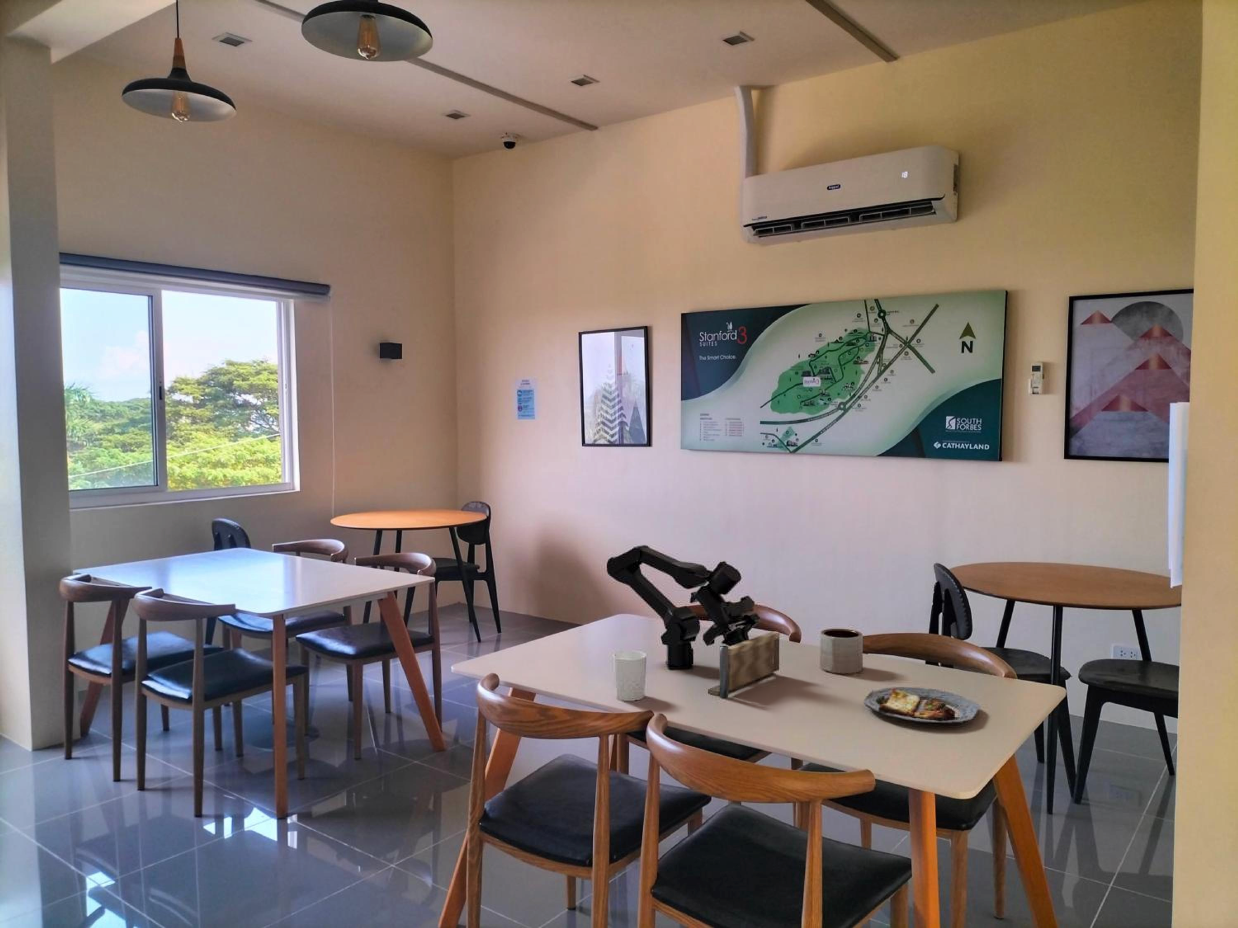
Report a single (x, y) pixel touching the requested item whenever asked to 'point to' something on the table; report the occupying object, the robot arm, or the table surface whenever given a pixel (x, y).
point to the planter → (841, 651)
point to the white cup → (629, 675)
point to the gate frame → (725, 676)
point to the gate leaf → (753, 659)
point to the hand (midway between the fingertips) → (752, 655)
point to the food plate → (908, 706)
